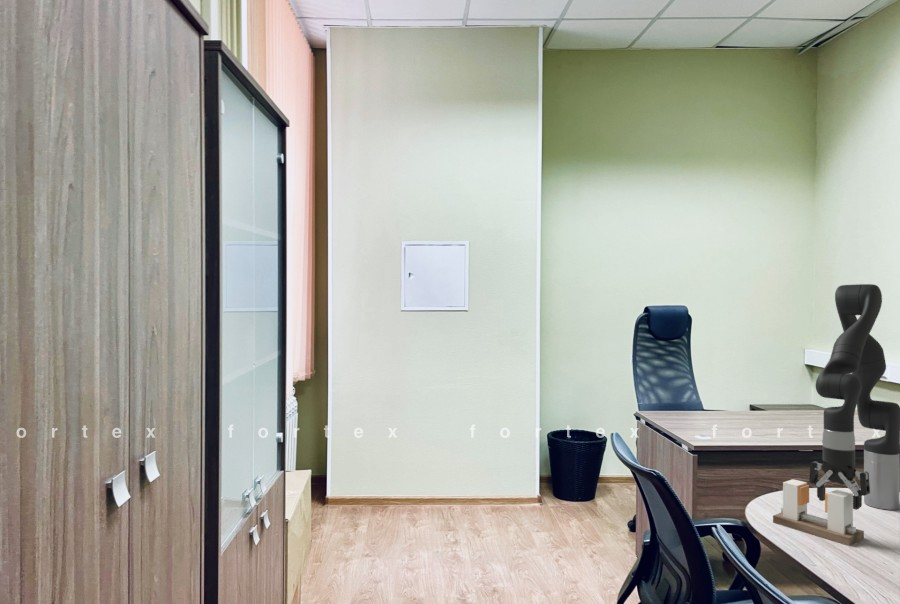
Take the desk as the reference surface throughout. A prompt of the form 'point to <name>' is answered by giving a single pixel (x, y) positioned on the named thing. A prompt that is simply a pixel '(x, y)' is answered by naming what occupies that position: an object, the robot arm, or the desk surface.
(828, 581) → the desk surface
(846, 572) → the desk surface
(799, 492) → the rail
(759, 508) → the desk surface
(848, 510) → the white block with pad
